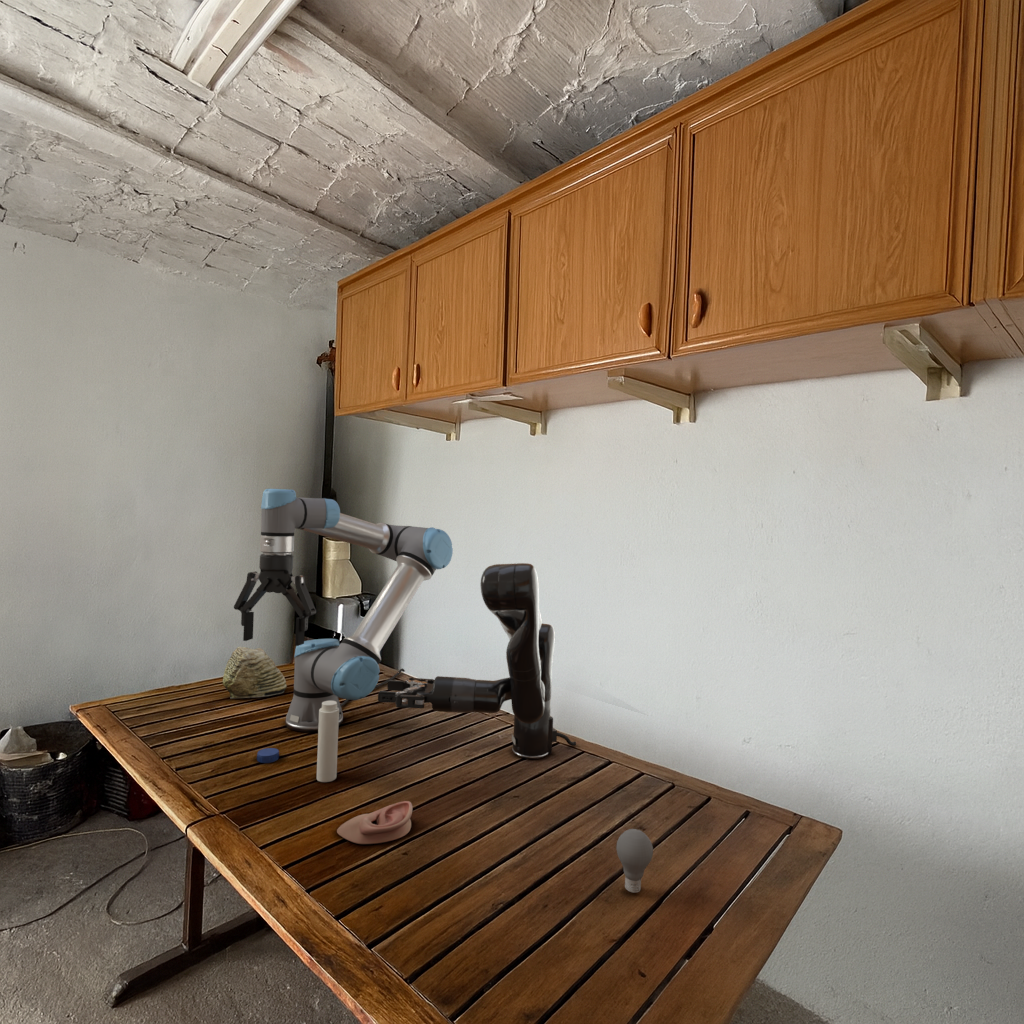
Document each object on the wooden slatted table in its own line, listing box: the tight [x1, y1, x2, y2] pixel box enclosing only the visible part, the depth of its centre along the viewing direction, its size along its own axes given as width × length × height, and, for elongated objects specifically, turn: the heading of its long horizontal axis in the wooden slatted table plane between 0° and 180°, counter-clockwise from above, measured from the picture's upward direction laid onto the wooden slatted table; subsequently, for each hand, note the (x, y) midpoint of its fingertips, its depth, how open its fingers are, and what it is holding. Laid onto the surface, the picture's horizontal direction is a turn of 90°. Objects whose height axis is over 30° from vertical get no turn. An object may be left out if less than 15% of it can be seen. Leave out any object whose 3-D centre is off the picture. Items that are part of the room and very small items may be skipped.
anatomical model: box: [336, 800, 414, 845], centre depth 121 cm, size 13×4×12 cm
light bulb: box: [615, 828, 654, 894], centre depth 106 cm, size 6×6×10 cm
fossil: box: [222, 646, 288, 699], centre depth 198 cm, size 9×18×15 cm, turn 132°
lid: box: [256, 747, 280, 764], centre depth 151 cm, size 5×5×2 cm
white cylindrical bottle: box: [316, 701, 340, 783], centre depth 143 cm, size 4×4×17 cm
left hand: (273, 642), depth 151 cm, fingers open, 13 cm apart
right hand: (383, 690), depth 142 cm, fingers open, 8 cm apart
